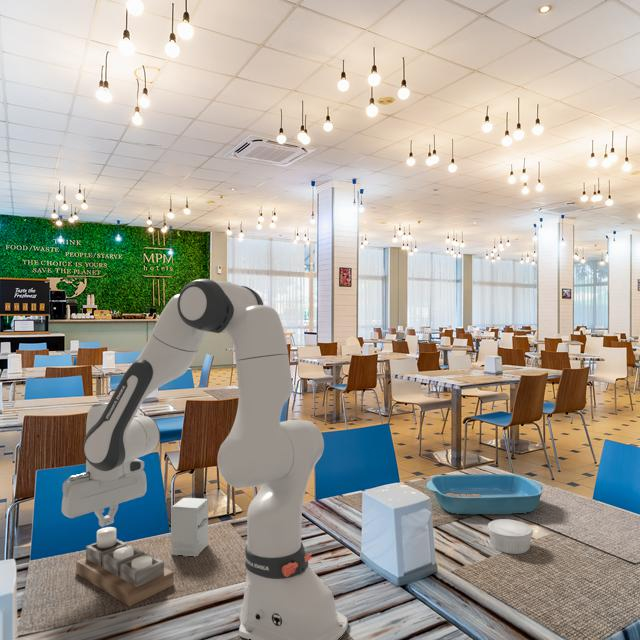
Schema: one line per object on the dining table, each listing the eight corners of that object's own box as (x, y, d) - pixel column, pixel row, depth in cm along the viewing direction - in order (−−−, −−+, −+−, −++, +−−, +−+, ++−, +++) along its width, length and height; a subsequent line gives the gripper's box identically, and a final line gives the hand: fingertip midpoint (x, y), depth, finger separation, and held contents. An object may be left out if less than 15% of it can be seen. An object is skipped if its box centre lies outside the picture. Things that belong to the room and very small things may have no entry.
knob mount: (173, 585, 117) (173, 558, 117) (129, 606, 108) (129, 578, 108) (118, 556, 131) (118, 533, 131) (76, 573, 122) (76, 548, 122)
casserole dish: (435, 519, 154) (435, 496, 154) (420, 494, 177) (419, 473, 177) (556, 518, 155) (556, 494, 155) (525, 493, 177) (525, 472, 177)
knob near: (156, 573, 115) (156, 559, 115) (138, 581, 112) (138, 567, 112) (145, 568, 118) (144, 554, 118) (127, 575, 115) (127, 561, 115)
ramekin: (488, 553, 132) (488, 533, 132) (487, 535, 143) (487, 516, 143) (535, 559, 129) (534, 538, 129) (530, 540, 139) (530, 521, 139)
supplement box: (197, 557, 130) (196, 508, 130) (170, 555, 132) (169, 506, 132) (209, 545, 137) (208, 498, 137) (183, 543, 139) (183, 496, 139)
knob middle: (137, 564, 120) (137, 550, 120) (120, 571, 117) (120, 557, 117) (127, 558, 123) (127, 545, 123) (109, 565, 119) (109, 552, 119)
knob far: (119, 543, 125) (119, 529, 125) (102, 549, 121) (102, 536, 121) (110, 538, 127) (110, 525, 127) (93, 544, 124) (93, 531, 124)
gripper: (69, 480, 114) (69, 542, 114) (150, 460, 130) (150, 514, 130) (56, 475, 118) (56, 535, 118) (136, 456, 134) (136, 509, 134)
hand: (106, 524), depth 124 cm, fingers closed
